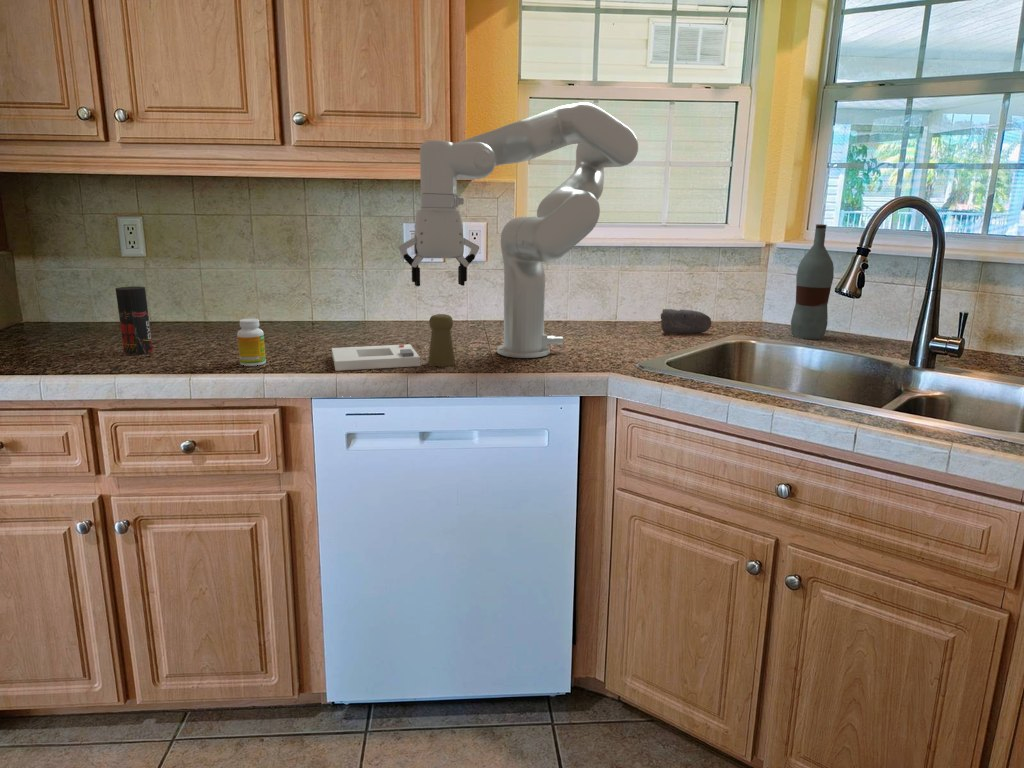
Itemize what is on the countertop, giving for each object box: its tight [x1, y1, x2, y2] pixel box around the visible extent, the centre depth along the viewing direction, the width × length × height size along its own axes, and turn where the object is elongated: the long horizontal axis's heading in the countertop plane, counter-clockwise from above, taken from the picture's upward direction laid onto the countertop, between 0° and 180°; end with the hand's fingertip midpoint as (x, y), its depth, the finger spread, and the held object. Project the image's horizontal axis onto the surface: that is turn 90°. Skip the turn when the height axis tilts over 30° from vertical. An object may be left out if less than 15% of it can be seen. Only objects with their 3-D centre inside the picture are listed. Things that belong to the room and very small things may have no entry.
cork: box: [427, 313, 456, 368], centre depth 152 cm, size 6×6×11 cm
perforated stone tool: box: [660, 308, 712, 335], centre depth 191 cm, size 15×5×7 cm, turn 94°
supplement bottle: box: [236, 318, 267, 367], centre depth 150 cm, size 5×5×10 cm
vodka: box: [790, 223, 835, 340], centre depth 185 cm, size 9×9×30 cm
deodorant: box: [115, 286, 154, 356], centre depth 159 cm, size 6×6×15 cm
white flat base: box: [331, 343, 421, 372], centre depth 155 cm, size 18×14×3 cm
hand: (439, 285), depth 149 cm, fingers open, 9 cm apart
